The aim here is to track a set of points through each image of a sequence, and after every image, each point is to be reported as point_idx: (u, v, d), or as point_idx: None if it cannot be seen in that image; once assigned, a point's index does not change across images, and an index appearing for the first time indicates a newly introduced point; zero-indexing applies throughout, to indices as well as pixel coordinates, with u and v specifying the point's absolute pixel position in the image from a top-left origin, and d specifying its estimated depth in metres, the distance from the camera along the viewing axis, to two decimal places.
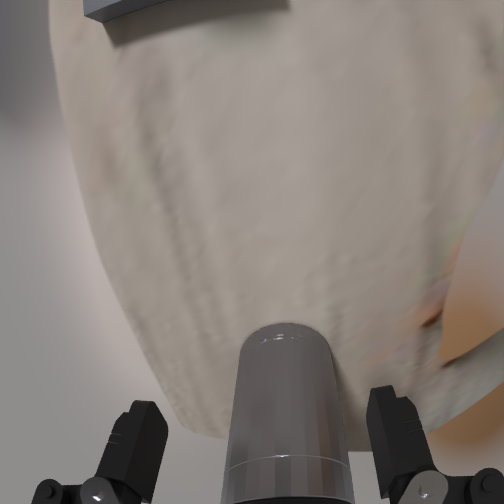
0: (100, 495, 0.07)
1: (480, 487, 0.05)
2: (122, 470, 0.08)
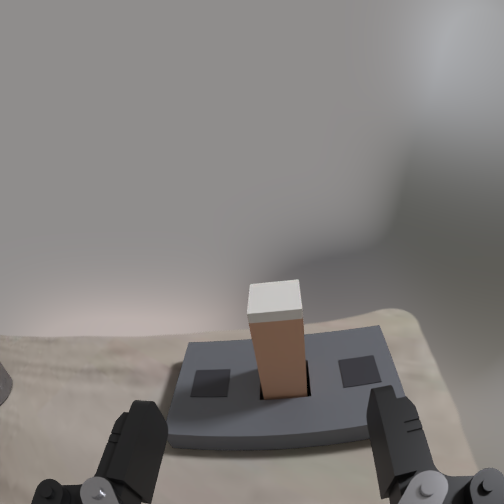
0: (100, 495, 0.07)
1: (480, 487, 0.05)
2: (122, 470, 0.08)
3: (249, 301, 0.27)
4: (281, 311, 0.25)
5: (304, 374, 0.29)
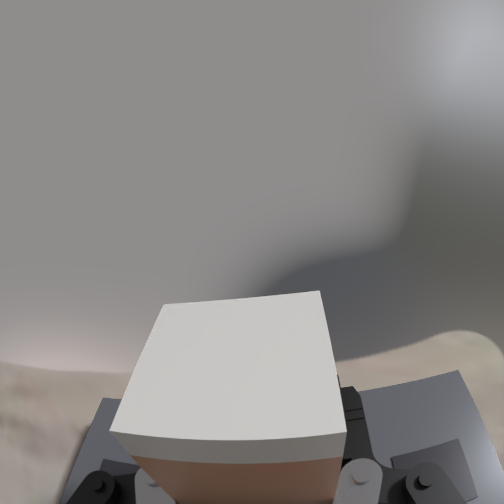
0: None
1: (417, 481, 0.06)
2: None
3: (137, 372, 0.07)
4: (249, 441, 0.05)
5: None
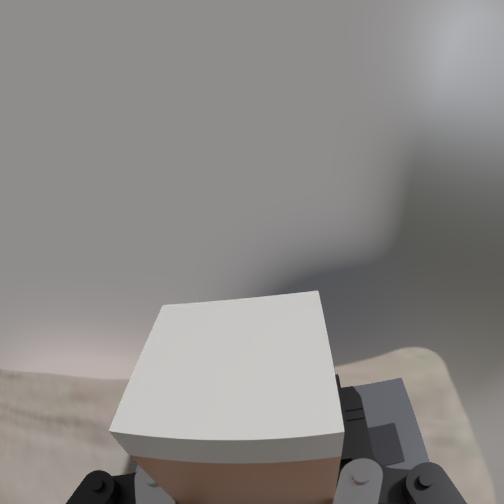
0: (156, 483, 0.07)
1: (417, 481, 0.06)
2: None
3: (136, 372, 0.07)
4: (247, 441, 0.05)
5: None
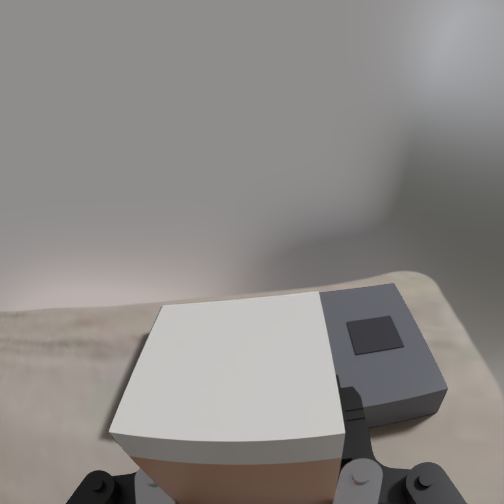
0: None
1: (417, 481, 0.06)
2: None
3: (136, 373, 0.07)
4: (247, 442, 0.05)
5: None
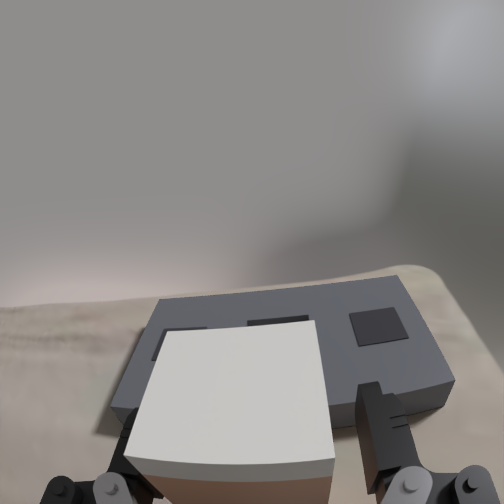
0: (113, 490, 0.07)
1: (465, 484, 0.05)
2: None
3: (145, 399, 0.07)
4: (249, 465, 0.05)
5: None
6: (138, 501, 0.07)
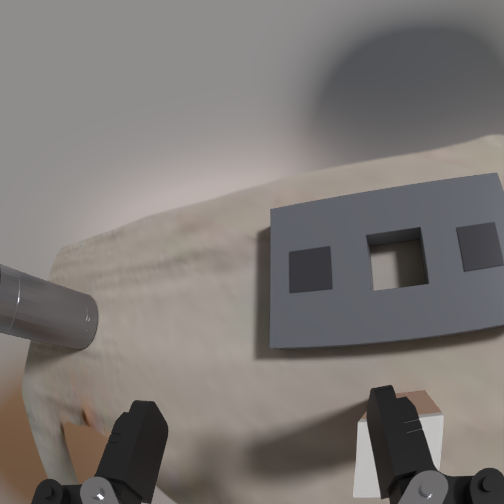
0: (100, 495, 0.07)
1: (480, 487, 0.05)
2: (122, 470, 0.08)
3: (357, 470, 0.13)
4: None
5: None
6: None
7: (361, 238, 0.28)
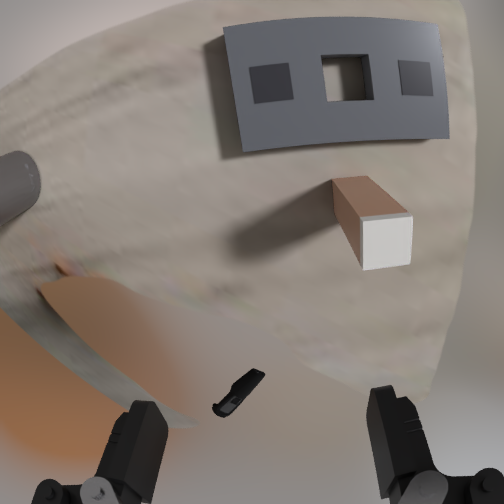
0: (100, 495, 0.07)
1: (480, 487, 0.05)
2: (122, 470, 0.08)
3: (364, 252, 0.25)
4: (392, 266, 0.26)
5: None
6: None
7: (316, 57, 0.28)
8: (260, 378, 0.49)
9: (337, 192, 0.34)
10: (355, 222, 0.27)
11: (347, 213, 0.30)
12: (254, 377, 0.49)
